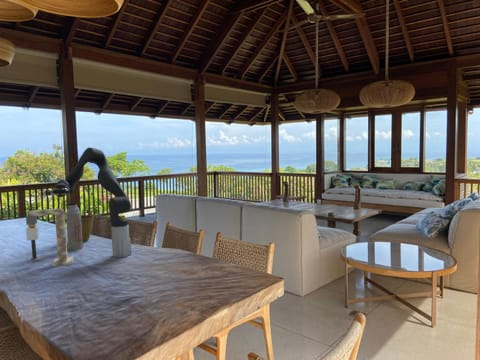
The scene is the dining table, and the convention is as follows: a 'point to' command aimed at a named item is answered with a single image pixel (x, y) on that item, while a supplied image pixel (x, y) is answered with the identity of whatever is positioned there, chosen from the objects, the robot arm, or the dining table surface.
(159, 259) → the dining table surface
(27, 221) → the dark grey piece
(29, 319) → the dining table surface
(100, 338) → the dining table surface
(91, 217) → the plant pot
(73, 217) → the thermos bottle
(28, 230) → the sleeve
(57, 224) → the stand
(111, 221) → the robot arm
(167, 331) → the dining table surface
